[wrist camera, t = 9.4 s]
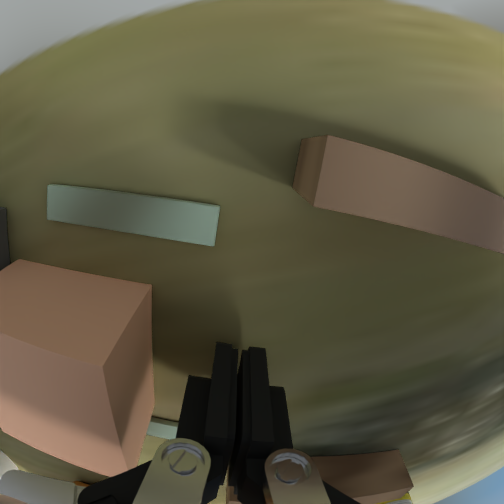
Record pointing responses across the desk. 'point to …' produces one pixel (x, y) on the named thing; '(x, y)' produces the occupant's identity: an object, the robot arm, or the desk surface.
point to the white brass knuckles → (6, 464)
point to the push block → (76, 364)
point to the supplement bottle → (400, 500)
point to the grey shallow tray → (3, 240)
